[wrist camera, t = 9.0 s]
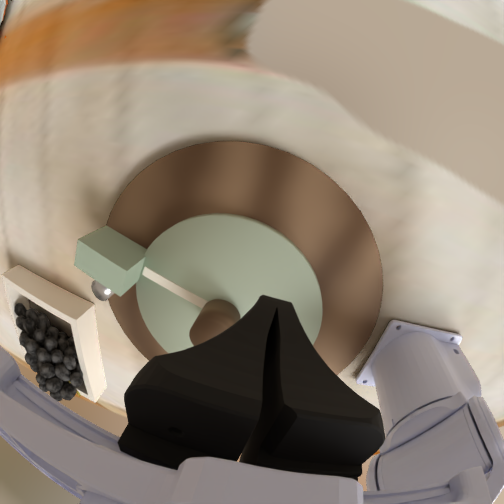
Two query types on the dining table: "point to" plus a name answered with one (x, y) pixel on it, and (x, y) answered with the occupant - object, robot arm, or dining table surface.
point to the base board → (266, 211)
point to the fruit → (49, 354)
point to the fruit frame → (70, 310)
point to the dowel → (101, 291)
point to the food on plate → (3, 9)
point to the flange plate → (203, 272)
